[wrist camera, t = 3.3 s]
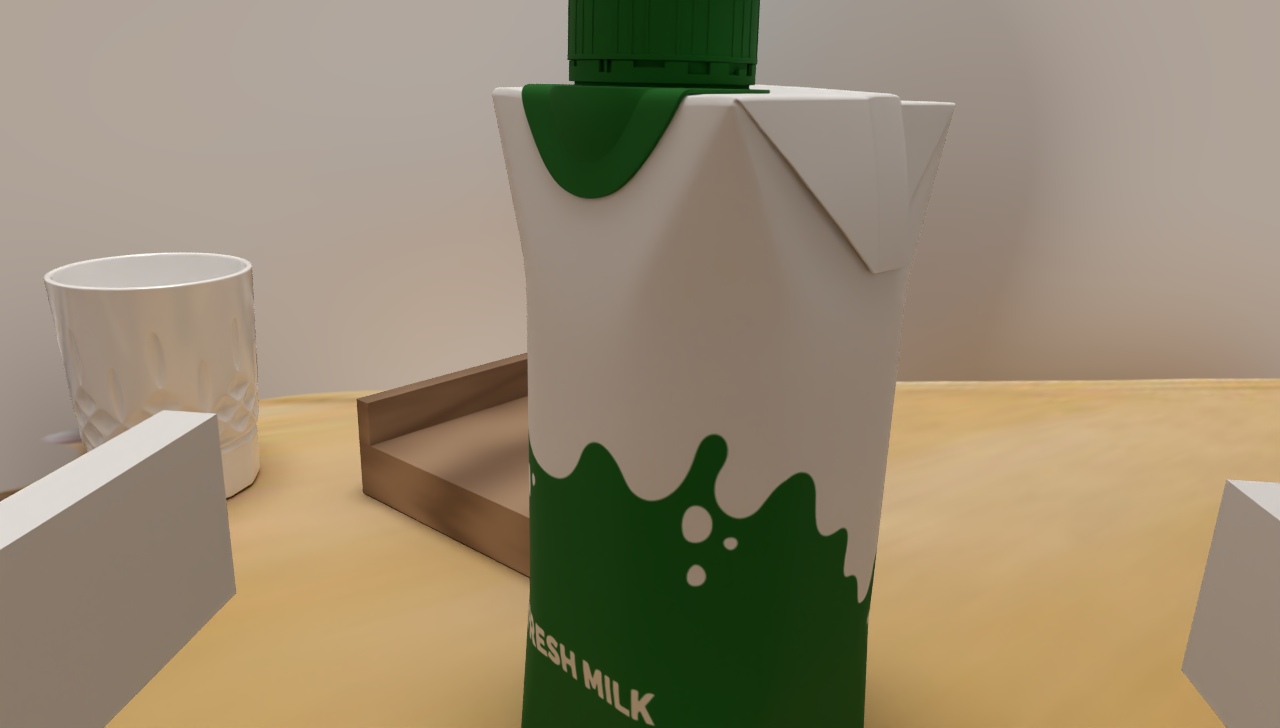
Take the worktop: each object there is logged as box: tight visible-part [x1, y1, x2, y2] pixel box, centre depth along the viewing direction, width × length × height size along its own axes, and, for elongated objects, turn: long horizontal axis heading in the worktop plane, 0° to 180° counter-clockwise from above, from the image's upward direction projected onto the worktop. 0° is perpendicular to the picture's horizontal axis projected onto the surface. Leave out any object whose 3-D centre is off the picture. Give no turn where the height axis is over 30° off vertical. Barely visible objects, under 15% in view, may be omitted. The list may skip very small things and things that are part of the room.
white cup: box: [44, 253, 260, 498], centre depth 40 cm, size 8×8×10 cm
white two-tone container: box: [492, 0, 955, 728], centre depth 23 cm, size 9×9×20 cm
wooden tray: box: [357, 353, 530, 577], centre depth 42 cm, size 14×14×4 cm
